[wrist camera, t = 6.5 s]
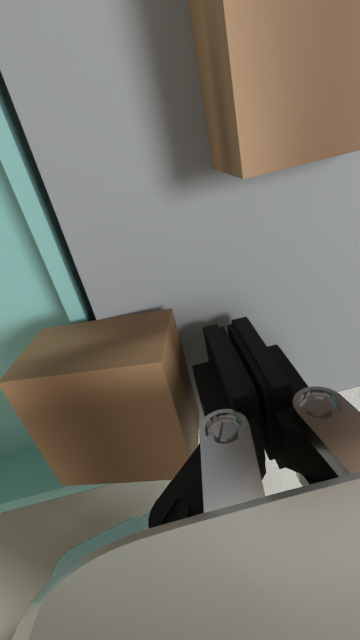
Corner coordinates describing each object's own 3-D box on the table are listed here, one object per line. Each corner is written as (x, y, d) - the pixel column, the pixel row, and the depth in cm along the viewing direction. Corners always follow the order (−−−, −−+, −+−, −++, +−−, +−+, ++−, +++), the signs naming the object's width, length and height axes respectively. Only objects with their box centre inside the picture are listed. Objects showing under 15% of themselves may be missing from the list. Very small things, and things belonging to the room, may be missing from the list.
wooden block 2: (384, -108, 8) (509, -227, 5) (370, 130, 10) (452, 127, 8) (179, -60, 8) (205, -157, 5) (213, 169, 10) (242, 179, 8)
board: (516, -163, 10) (654, -270, 7) (430, 323, 18) (480, 354, 16) (-15, -40, 10) (-68, -105, 7) (141, 398, 18) (143, 442, 15)
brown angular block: (172, 308, 12) (161, 362, 9) (199, 412, 14) (196, 477, 12) (41, 328, 13) (-3, 382, 10) (87, 423, 15) (62, 486, 12)
